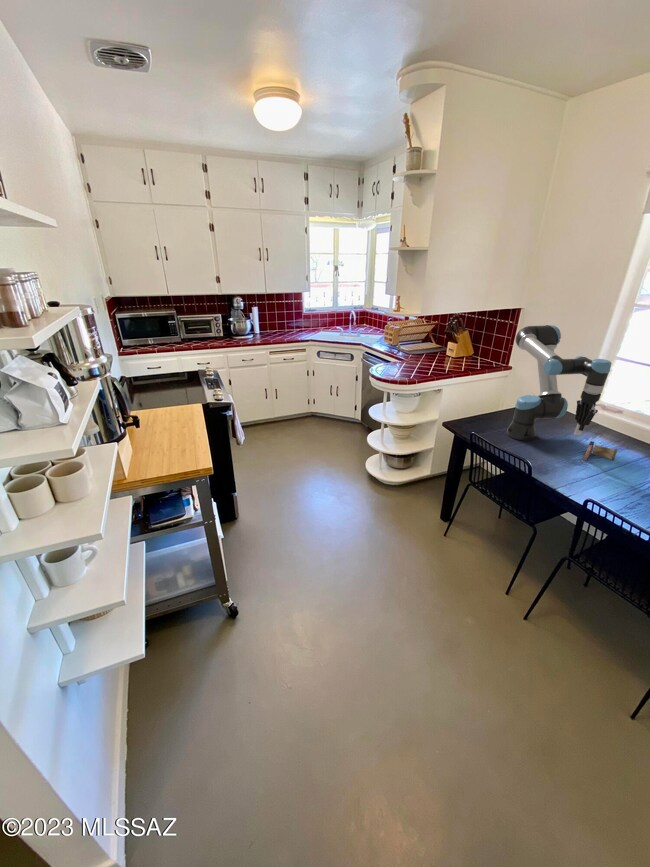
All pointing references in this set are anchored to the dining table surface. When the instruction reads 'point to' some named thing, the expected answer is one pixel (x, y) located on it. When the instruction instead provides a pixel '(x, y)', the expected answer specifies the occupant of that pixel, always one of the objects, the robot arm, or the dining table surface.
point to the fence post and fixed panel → (603, 451)
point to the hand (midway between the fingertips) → (577, 434)
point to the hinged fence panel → (588, 452)
